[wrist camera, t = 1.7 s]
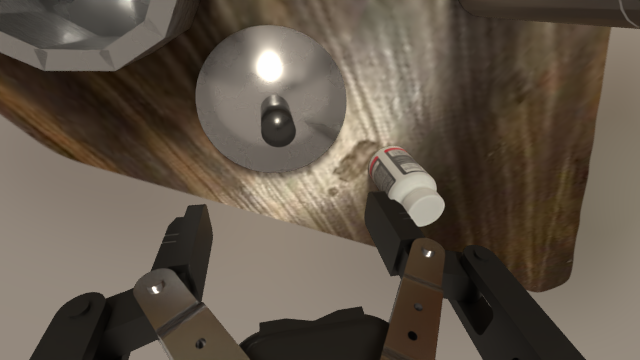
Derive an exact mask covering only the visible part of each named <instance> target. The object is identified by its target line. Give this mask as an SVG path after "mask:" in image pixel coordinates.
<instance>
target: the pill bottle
mask: <svg viewBox="0 0 640 360" xmlns="http://www.w3.org/2000/svg"><path fill="white" fill-rule="evenodd" d="M369 174H370V176H371V178H372V179H373V181H374V183H375V184H376V186H377V187H378V189H379V190H380V191H385V192H386V194H387V195H388V197H389V198H390V199H395V200H396V201H397V202H399V203H400V204H402V205H403V207H404V208H405V209H406V211H407V213H408V214H409V215H410V216H411V219H413V221H414V222H415V223H416V225H417V226H425V225H428V224H431V223H432V222H434V221H435V220H437V219H438V218H439V217H440V215H441V214H442V212H443V210H444V206H445V204H444V201H443V199H442V198H441V197H440V195H439V194H438V193H437V192H436V190H437V188H436V183H435V181H434V179H433V178H432V177H431V176H430V175H429V174H428V173H427V172H426V171H425V170H424V169H423V168H422V167H421V166H420V165H419V164H418V163H417V162H416V161H415V160H414V159H413V158H412V157H411V156H410V155H409V154H408V153H407V152H406V151H405V150H404V149H402V148H401V147H398V146H388V147H385V148H382V149H381V150H379V151H378V152H377V153H376V154H375V155H374V156H373V157H372V159H371V161H370V163H369Z"/></svg>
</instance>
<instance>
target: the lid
mask: <svg viewBox="0 0 640 360" xmlns="http://www.w3.org/2000/svg"><path fill="white" fill-rule="evenodd" d="M196 108H197V113H198V117H199V121H200V123H201V125H202V128H203V130H204V132H205V133H206V135H207V137H208V139H209V140H210V141H211V142H212V144H213V145H214V146H215V147H216V148H217V149H218V150H219V151H220V152H221V153H222V154H223V155H224V156H226V157H227V158H228V159H230V160H231V161H233V162H235V163H236V164H239V165H241V166H243V167H245V168H248V169H251V170H255V171H260V172H267V173H280V172H287V171H292V170H296V169H298V168H301V167H304V166H306V165H308V164H310V163H311V162H313V161H315V160H316V159H318V158H319V157H320V156H321V155H323V154H324V153H325V152H326V151H327V150H328V149H329V148H330V146H331V145H332V144H333V142H334V141H335V139H336V138H337V136H338V134H339V132H340V130H341V127H342V125H343V121H344V118H345V113H346V90H345V85H344V81H343V78H342V75H341V73H340V70H339V69H338V67H337V65H336V63H335V61H334V60H333V59H332V57H331V56H330V54H329V53H328V52H327V51H326V50H325V49H324V48H323V47H322V46H321V45H320V44H318V43H317V42H316V41H315V40H313V39H312V38H310V37H309V36H307V35H305V34H304V33H302V32H299V31H297V30H295V29H292V28H288V27H284V26H279V25H258V26H252V27H248V28H245V29H242V30H239V31H237V32H235V33H234V34H232V35H230V36H228V37H227V38H226V39H224V40H223V41H222V42H220V43H219V44H218V45H217V46H216V47H215V49H214V50H213V51H212V52H211V53H210V55H209V56H208V57H207V59H206V60H205V62H204V64H203V66H202V68H201V70H200V73H199V77H198V80H197V85H196Z"/></svg>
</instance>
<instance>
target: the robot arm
mask: <svg viewBox="0 0 640 360" xmlns="http://www.w3.org/2000/svg"><path fill="white" fill-rule="evenodd" d="M459 2H460V4H461V5H462V6H463V8H464V9H465V10H466V11H468V12H469V13H470V14H472V15H475V16H478V17H489V18H502V19H512V20H525V21H539V22H553V23H566V24H580V25H593V26H607V27H621V28H635V29H640V0H459ZM365 224H366V227H367V229H368V231H369V233H370V235H371V237H372V239H373V241H374V243H375V245H376V247H377V249H378V251H379V253H380V255H381V258H382V259H383V262H384V264H385V265H386V267H387V270H388V272H389V274H390V276H396V275H399V276H400V278H401V282H400V285H399V288H398V292H397V295H396V298H395V302H394V305H393V309H392V312H391V316H390V319H389V322H386V321H384V320H382V319H380V318H378V317H375V316H371V315H366V314H364V312H363V309H362V307H355V308H349V309H342V310H337V311H335V312H333V313H331V314H328V315H326V316H324V317H322V318H319V319H317V320H315V321H306V320H296V319H280V320H274V321H268V322H261V323H260V331H259V332H257V333H255V334H253V335H251V336H250V337H248V338H247V339H245V340H244V341H243V342H241V343H240V344H239V345H238V344H237V343H236V341H235V340H234V339H233V338H232V337H231V335H230V334H229V333H228V332H227V331H226V329H225V328H224V327H223V326H222V324H221V323H220V322H219V321H218V320H217V318H216V317H215V316H214V315H213V313H212V312H211V311H210V310H209V308H208V307H207V306H206V305H205V304H204V303H203V302H201V301H202V295H203V289H204V285H205V279H206V274H207V268H208V263H209V257H210V251H211V246H212V240H213V234H212V233H213V232H212V227H211V222H210V218H209V213H208V209H207V206H206V204H203V205H191V206H188V207H187V210H186V213H185V216H184V217H178V218H176V219H175V220H174V221H173V222H172V223H171V224H170V225H169V226H168V228H167V231H166V233H165V237H164V239H163V241H162V244H161V246H160V249H159V251H158V254H157V256H156V259H155V262H154V264H153V267H152V269H151V271H150V272H149V273H147V274H145V275H144V276H143V277H141V278H140V279H139V280H138V281H137V283H136V284H135V286H134V288H132V289H130V290H128V291H125V292H123V293H120V294H117V295H114V296H112V297H109V298H106V299H105V297H104V296H103V295H102V294H100V293H97V292H91V293H85V294H83V295H80V296H77V297H75V298H73V299H72V300H70V301H69V302H67V303H66V304H64V305H63V306H62V307H61V308H60V309H59V310H58V312H57V313H56V314H55V316H54V318H53V319H52V321H51V323H50V325H49V326H48V328H47V330H46V332H45V333H44V335H43V337H42V339H41V340H40V342H39V344H38V346H37V347H36V349H35V351H34V353H33V354H32V356H31V358H30V359H29V360H128V359H129V356H130V352H131V351H133V350H136V349H138V348H140V347H142V346H144V345H146V344H149V343H151V342H153V341H155V340H158V341H159V343H160V345H161V346H162V348H163V350H164V351H165V353H166V355H167V356H168V358H169V360H435V357H436V348H437V341H438V333H439V325H440V317H441V309H442V300H443V298H446V299H448V300H449V302H450V303H451V305H452V307H453V308H454V310H455V312H456V314H457V315H458V317H459V319H460V321H461V322H462V324H463V326H464V328H465V329H466V331H467V333H468V335H469V336H470V338H471V340H472V341H473V343H474V345H475V347H476V348H477V350H478V352H479V354H480V355H481V357H482V359H483V360H586V359H585V358H584V357H583V356H582V355H581V353H580V352H579V351H578V350H577V349H576V348H575V347H574V345H573V344H572V343H571V342H570V341H569V340H568V338H567V337H566V336H565V335H564V334H563V333H562V331H561V330H560V329H559V328H558V327H557V326H556V325H555V323H554V322H553V321H552V320H551V319H550V318H549V316H548V315H547V314H546V313H545V312H544V311H543V310H542V308H541V307H540V306H539V305H538V304H537V303H536V301H535V300H534V299H533V298H532V297H531V296H530V295H529V293H528V292H527V291H526V290H525V289H524V287H523V286H522V285H521V284H520V283H519V282H518V280H517V279H516V278H515V277H514V276H513V275H512V274H511V272H510V271H509V270H508V269H507V268H506V267H505V265H504V264H503V263H502V262H501V261H500V260H499V258H498V257H497V256H496V255H495V254H494V253H493V252H491V251H490V250H488V249H487V248H484V247H482V246H478V245H469V246H467V247H466V248H465V249H464V251H463V253H461V252H454V251H447V250H444V249H443V247H442V246H441V245H440V244H439V243H437V242H436V241H434V240H431V239H428V238H426V237H425V236H424V235H423V233H422V232H421V230H420V229H419V228H418V226H417V225H416V223H415V222H414V221H413V219H411V216H410V215H409V214H408V213H407V211H406V209H405V208H404V207H403V205H402V204H400V203H399V202H397V201H396V200H395V199H390V198H389V197H388V195H387V194H386V192H385V191H371V192H369V193H368V197H367V203H366V209H365ZM483 296H484V297H483ZM485 299H486V300H487V301H486V300H485ZM200 302H201V303H200ZM487 302H488V303H489V304H488V303H487ZM490 306H491V307H490Z"/></svg>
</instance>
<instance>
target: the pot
mask: <svg viewBox="0 0 640 360" xmlns="http://www.w3.org/2000/svg"><path fill="white" fill-rule="evenodd" d="M199 3H200V0H0V52H1V53H3V54H6V55H8V56H10V57H13V58H15V59H17V60H20V61H22V62H25V63H27V64H29V65H32V66H34V67H36V68H39V69H41V70H44V71H117V70H119V69H121V68H123V67H125V66H127V65H129V64H131V63H133V62H135V61H137V60H139V59H141V58H143V57H145V56H147V55H149V54H151V53H153V52H155V51H156V50H158V49H159V48H161V47H162V46H164V45H165V44H167V43H168V42H170V41H171V40H173V39H174V38H176V37H177V36H179V35H180V34H182V33H183V32H185V31H186V30H188V29H189V28H191V25H192V22H193V20H194V17H195V14H196V11H197V8H198V5H199Z"/></svg>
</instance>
